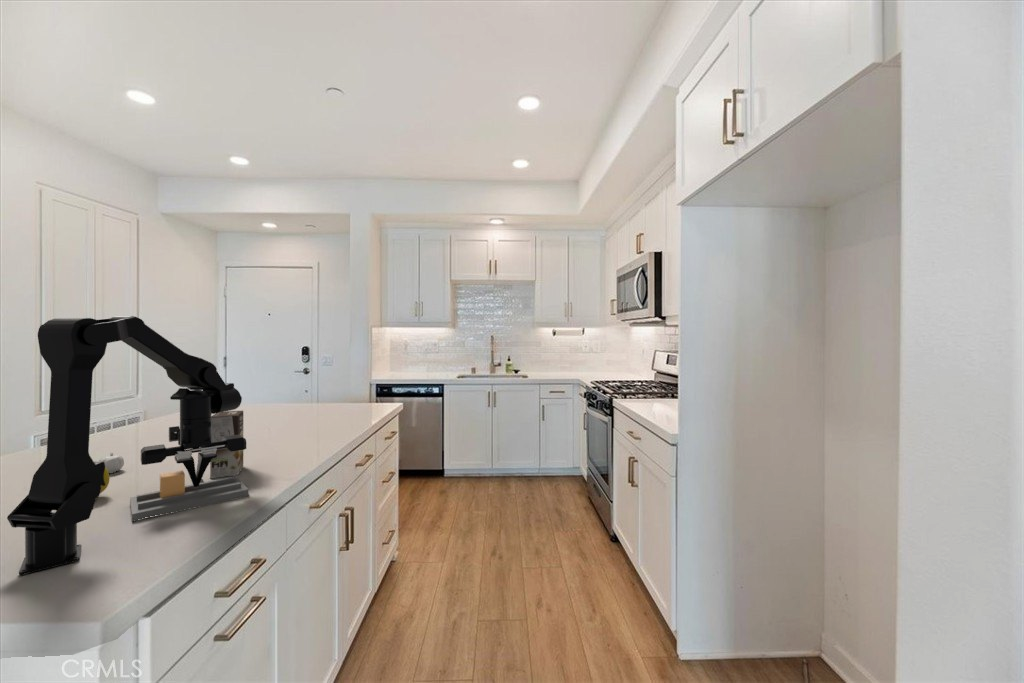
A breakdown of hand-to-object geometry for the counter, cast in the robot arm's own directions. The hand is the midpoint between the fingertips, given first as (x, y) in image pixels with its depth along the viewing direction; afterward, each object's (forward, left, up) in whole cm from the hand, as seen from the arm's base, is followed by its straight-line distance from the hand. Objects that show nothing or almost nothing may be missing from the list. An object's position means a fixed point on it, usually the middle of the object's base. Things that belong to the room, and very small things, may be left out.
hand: (196, 486), depth 96 cm
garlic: (+40, +14, -3) cm, 43 cm away
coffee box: (+18, -9, -3) cm, 20 cm away
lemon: (+17, +17, -3) cm, 24 cm away
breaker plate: (0, +1, -3) cm, 3 cm away
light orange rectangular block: (0, +4, -1) cm, 4 cm away
